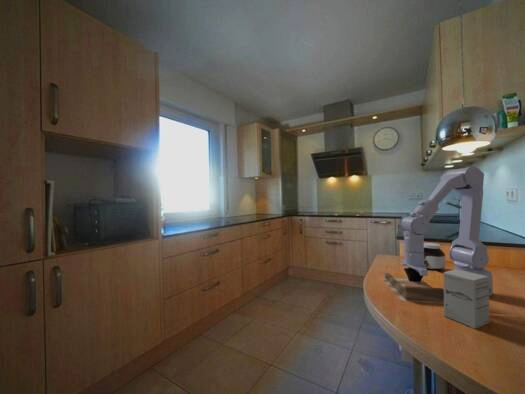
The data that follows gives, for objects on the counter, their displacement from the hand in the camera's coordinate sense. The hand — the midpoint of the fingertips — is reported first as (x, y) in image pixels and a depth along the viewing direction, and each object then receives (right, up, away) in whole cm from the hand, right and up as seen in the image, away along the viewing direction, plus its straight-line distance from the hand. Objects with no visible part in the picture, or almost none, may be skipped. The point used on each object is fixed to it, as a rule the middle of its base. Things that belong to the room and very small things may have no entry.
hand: (414, 289), depth 80 cm
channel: (+1, -1, +4) cm, 4 cm away
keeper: (-1, -1, -3) cm, 3 cm away
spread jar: (+24, -2, +28) cm, 37 cm away
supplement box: (+3, -2, -17) cm, 17 cm away
